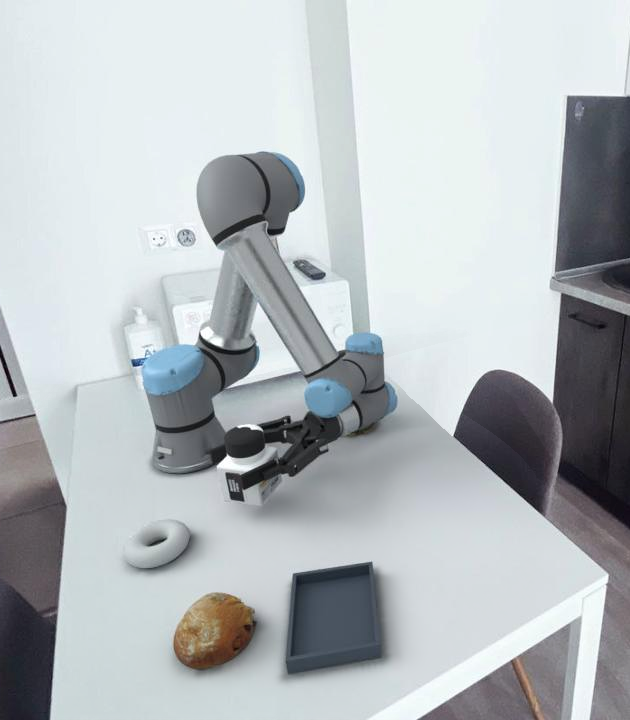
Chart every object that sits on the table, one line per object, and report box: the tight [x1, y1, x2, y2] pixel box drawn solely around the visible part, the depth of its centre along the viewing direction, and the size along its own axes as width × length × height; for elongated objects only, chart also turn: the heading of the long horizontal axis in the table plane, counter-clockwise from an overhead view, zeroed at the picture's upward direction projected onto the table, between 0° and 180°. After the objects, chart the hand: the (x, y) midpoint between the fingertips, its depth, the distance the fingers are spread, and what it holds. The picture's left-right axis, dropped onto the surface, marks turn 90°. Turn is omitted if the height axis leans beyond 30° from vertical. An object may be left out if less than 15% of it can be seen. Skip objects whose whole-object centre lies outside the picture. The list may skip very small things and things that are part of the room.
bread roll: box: [172, 591, 258, 670], centre depth 75 cm, size 10×10×8 cm
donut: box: [123, 518, 191, 569], centre depth 91 cm, size 10×4×10 cm
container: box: [216, 423, 283, 507], centre depth 98 cm, size 8×8×13 cm
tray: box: [284, 561, 382, 675], centre depth 78 cm, size 15×12×2 cm
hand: (225, 469), depth 95 cm, fingers closed on container, 10 cm apart
